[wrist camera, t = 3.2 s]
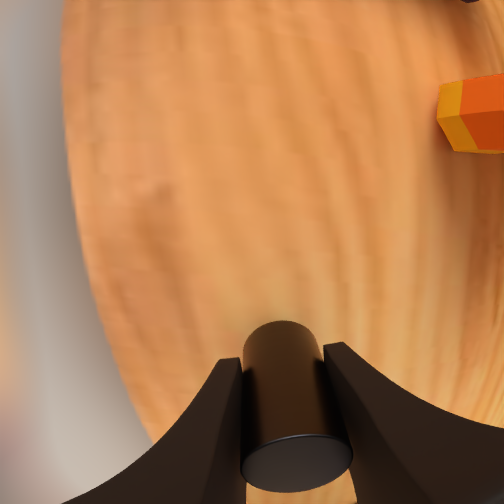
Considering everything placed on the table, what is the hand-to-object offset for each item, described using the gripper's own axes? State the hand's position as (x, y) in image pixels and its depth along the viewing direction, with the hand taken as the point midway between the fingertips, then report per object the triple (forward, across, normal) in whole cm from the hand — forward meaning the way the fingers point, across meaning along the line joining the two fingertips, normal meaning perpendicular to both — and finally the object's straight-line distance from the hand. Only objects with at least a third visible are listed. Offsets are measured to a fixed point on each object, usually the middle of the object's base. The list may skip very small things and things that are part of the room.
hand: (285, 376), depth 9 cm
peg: (+1, 0, 0) cm, 1 cm away
